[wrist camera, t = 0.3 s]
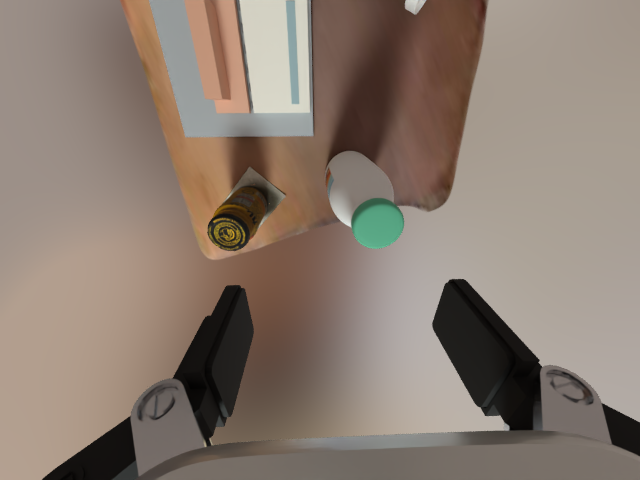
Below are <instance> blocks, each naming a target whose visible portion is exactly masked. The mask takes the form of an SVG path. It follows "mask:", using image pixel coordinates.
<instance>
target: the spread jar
mask: <svg viewBox="0 0 640 480" xmlns="http://www.w3.org/2000/svg"><path fill="white" fill-rule="evenodd" d="M425 1H426V0H406V1H405V9H407V10H408V11H410V12H412V13H413V14H417V13H418V12H419V10H420V9H421V8H422V6H423V5H424V3H425Z"/></svg>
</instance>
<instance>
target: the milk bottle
mask: <svg viewBox="0 0 640 480" xmlns="http://www.w3.org/2000/svg"><path fill="white" fill-rule="evenodd" d="M325 181H326V187H327V192H328V196H329V201H330V204H331V207H332V209H333V211H334V213H335V214H336V216H337V217H338V218H339V219H340V220H341V221H342V222H343V223H344V224H346V225H348V226H350V227H351V228H352V231H353V234H354V236H355V238H356V239H357V241H358V242H359V243H361V244H362V245H364V246H365V247H368V248H374V249H376V248H383V247H386V246H388V245H390V244H392V243H393V242H395V241H396V240H397V239H398V237H399V236H400V235H401V233H402V231H403V227H404V218H403V215H402V213H401V211H400V209H399V208H398V207H397V206H396V205H395V204H394V203H393V202H394V191H393V187H392V184H391V182H390V180H389V178H388V177H387V175H386V174H385V173H384V172H383V171H382V170H381V169H380V168H379V167H378V166H377V165H375V164H374V163H373V162H372V161H371V160H369V159H368V158H367V157H365V156H364V155H363V154H361V153H359V152H356V151H345V152H341V153H339V154H337V155H336V156H335V157H333V158H332V160H331V161H330V162H329V164H328V166H327V168H326V172H325Z"/></svg>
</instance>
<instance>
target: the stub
mask: <svg viewBox="0 0 640 480" xmlns="http://www.w3.org/2000/svg"><path fill="white" fill-rule="evenodd" d="M184 2H185V7H186V12H187V16H188V21H189V26H190V30H191V35H192V40H193V44H194V49H195V54H196V59H197V63H198V68H199V73H200V77H201V82H202V87H203V91H204V96H205V99H210V100H214V102H215V107H216V112H217V113H251V109H250V102H249V94H248V87H247V79H246V72H245V64H244V57H243V49H242V42H241V34H240V27H239V19H238V12H237V5H236V0H184Z"/></svg>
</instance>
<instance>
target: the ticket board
mask: <svg viewBox="0 0 640 480" xmlns="http://www.w3.org/2000/svg"><path fill="white" fill-rule="evenodd" d="M149 2H150V6H151V10H152V13H153V17H154V21H155V25H156V28H157V32H158V36H159V40H160V43H161V47H162V51H163V55H164V58H165V62H166V66H167V70H168V73H169V77H170V81H171V84H172V88H173V92H174V96H175V99H176V103H177V107H178V111H179V114H180V118H181V122H182V126H183V129H184V133H185V137H258V136H313V94H312V42H311V0H236V5H237V12H238V19H239V27H240V34H241V42H242V49H243V57H244V64H245V72H246V79H247V87H248V94H249V102H250V109H251V113H217V112H216V107H215V102H214V100H210V99H205V96H204V91H203V87H202V82H201V77H200V73H199V68H198V63H197V59H196V54H195V49H194V44H193V40H192V35H191V30H190V26H189V21H188V16H187V12H186V7H185V2H184V0H149Z"/></svg>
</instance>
